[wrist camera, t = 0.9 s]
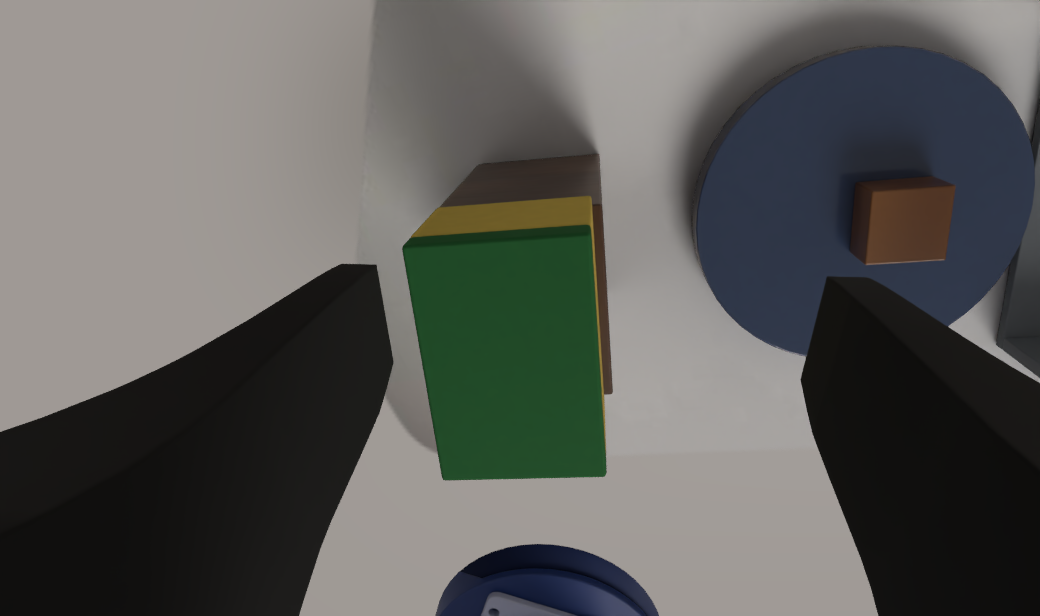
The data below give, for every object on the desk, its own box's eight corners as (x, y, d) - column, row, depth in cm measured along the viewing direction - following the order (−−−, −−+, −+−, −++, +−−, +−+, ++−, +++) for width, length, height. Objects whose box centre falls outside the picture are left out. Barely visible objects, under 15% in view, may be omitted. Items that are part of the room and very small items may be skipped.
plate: (692, 353, 27) (696, 366, 26) (690, 63, 23) (695, 65, 22) (988, 339, 25) (1006, 353, 24) (1041, 27, 21) (1066, 26, 20)
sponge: (467, 408, 19) (441, 481, 16) (436, 207, 17) (400, 246, 14) (604, 403, 19) (606, 478, 16) (591, 195, 17) (591, 232, 13)
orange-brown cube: (849, 252, 23) (865, 265, 22) (855, 181, 22) (871, 191, 21) (925, 247, 23) (946, 260, 22) (934, 175, 22) (956, 184, 21)
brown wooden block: (494, 301, 27) (457, 400, 19) (477, 164, 25) (428, 217, 17) (607, 294, 26) (612, 395, 19) (599, 153, 24) (601, 203, 17)
